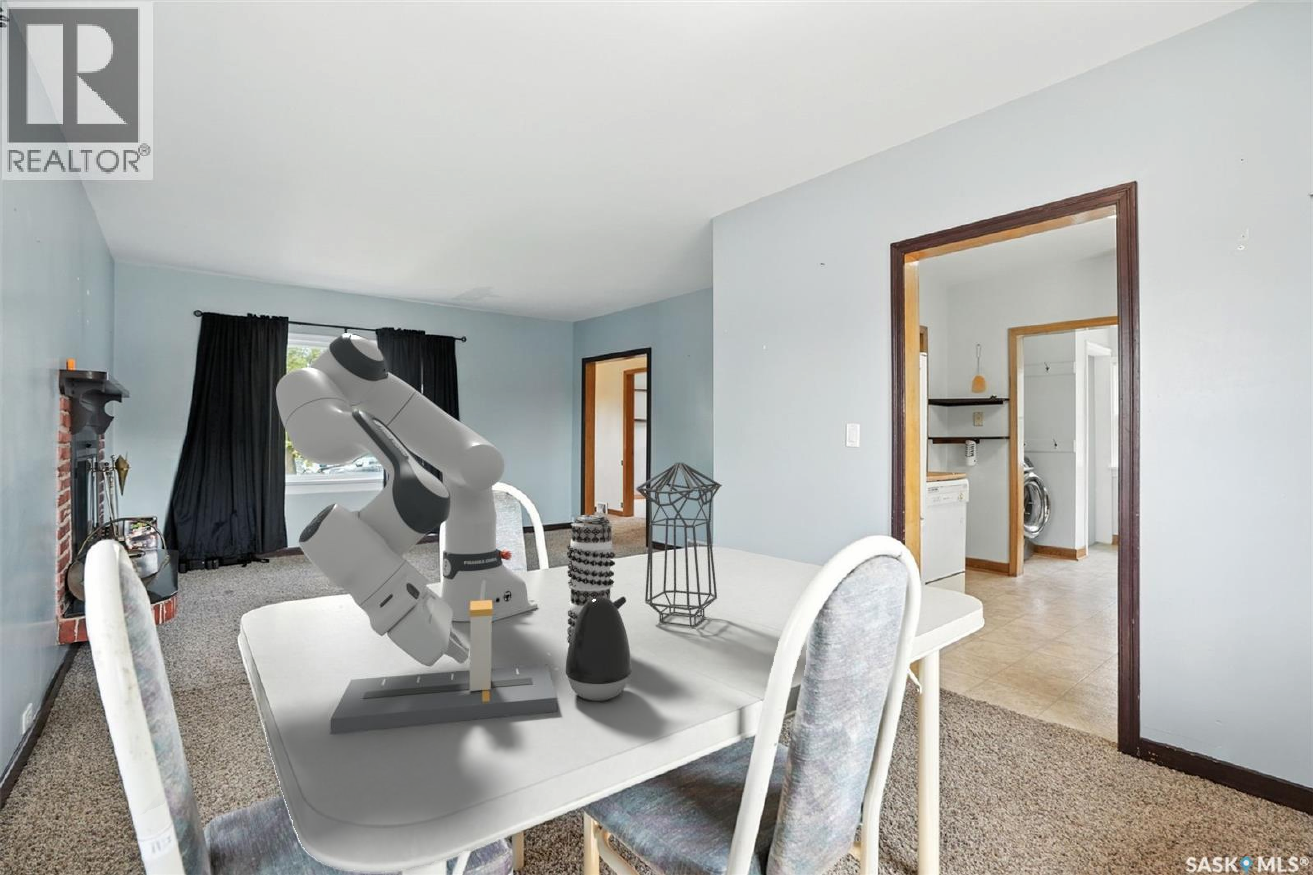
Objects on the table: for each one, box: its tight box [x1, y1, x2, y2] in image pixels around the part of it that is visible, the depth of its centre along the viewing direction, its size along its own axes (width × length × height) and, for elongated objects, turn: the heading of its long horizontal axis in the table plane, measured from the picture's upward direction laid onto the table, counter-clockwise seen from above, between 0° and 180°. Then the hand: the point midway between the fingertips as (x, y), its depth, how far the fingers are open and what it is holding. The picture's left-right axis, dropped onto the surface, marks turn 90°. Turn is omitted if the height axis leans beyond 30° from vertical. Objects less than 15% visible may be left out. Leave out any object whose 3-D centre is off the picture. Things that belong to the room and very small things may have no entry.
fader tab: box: [469, 600, 493, 691], centre depth 96 cm, size 3×5×12 cm, turn 16°
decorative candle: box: [566, 514, 616, 648], centre depth 121 cm, size 9×9×25 cm
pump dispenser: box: [565, 596, 632, 702], centre depth 99 cm, size 10×10×15 cm
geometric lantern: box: [635, 461, 723, 628], centre depth 140 cm, size 16×16×35 cm
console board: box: [329, 663, 558, 735], centre depth 95 cm, size 30×14×2 cm, turn 106°
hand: (465, 657), depth 96 cm, fingers closed
